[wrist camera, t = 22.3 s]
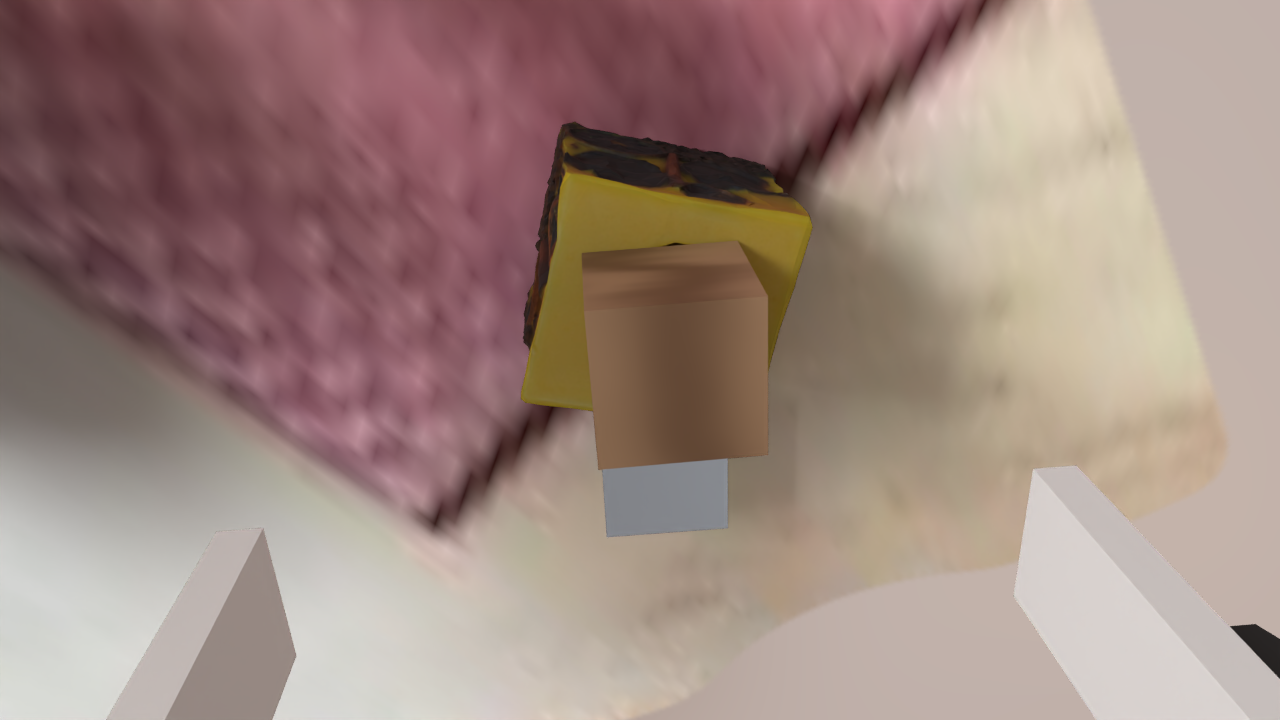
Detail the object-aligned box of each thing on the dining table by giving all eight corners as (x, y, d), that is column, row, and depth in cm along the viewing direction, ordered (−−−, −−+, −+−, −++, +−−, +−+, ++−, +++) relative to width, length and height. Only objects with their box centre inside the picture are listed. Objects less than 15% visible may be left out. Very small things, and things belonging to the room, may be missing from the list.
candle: (522, 316, 47) (511, 407, 38) (557, 116, 43) (554, 165, 34) (716, 349, 49) (750, 444, 39) (767, 159, 45) (818, 217, 35)
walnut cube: (594, 392, 38) (598, 469, 33) (581, 252, 35) (583, 311, 30) (739, 380, 38) (768, 454, 33) (737, 240, 36) (768, 296, 30)
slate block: (602, 472, 51) (606, 537, 46) (596, 374, 49) (599, 430, 43) (710, 464, 51) (727, 528, 46) (710, 367, 49) (727, 421, 43)
